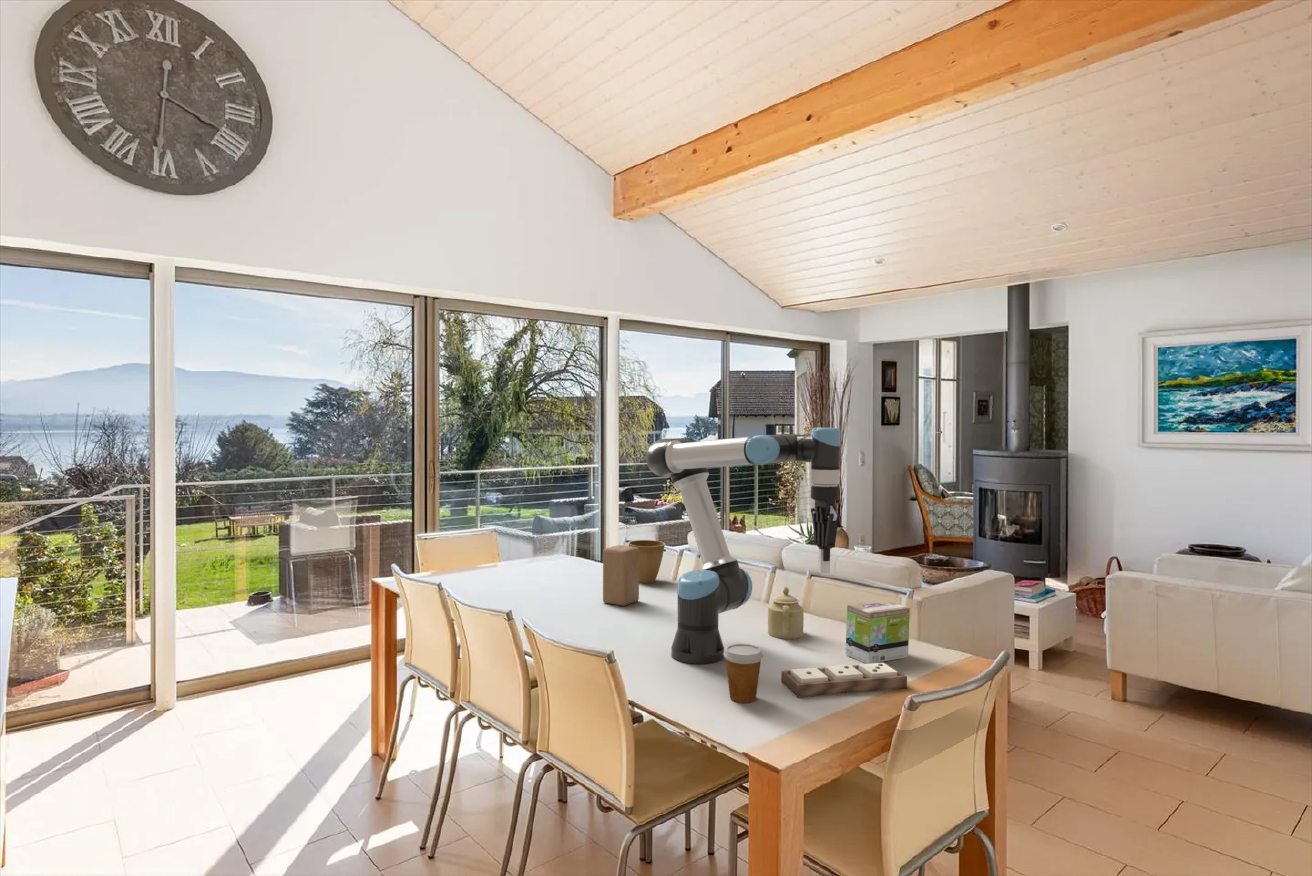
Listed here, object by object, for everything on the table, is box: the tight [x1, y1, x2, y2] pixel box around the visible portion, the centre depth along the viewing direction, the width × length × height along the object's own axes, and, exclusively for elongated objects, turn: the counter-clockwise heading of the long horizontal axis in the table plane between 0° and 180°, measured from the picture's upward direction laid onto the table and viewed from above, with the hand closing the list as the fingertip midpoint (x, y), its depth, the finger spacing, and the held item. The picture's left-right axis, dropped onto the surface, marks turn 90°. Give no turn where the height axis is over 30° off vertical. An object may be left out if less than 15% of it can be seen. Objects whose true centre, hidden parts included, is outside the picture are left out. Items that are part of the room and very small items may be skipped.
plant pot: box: [628, 539, 666, 584], centre depth 306 cm, size 15×15×16 cm
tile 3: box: [858, 662, 898, 678], centre depth 191 cm, size 7×7×3 cm
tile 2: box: [824, 664, 863, 681], centre depth 189 cm, size 7×7×3 cm
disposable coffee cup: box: [724, 643, 764, 704], centre depth 180 cm, size 10×10×12 cm
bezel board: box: [780, 662, 908, 698], centre depth 189 cm, size 30×10×3 cm, turn 103°
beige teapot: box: [767, 586, 805, 640], centre depth 232 cm, size 15×11×15 cm
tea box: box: [845, 599, 911, 664], centre depth 212 cm, size 15×10×15 cm, turn 117°
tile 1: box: [789, 667, 828, 683], centre depth 187 cm, size 7×7×3 cm
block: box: [602, 544, 640, 607], centre depth 272 cm, size 10×10×20 cm
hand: (824, 572), depth 200 cm, fingers closed
